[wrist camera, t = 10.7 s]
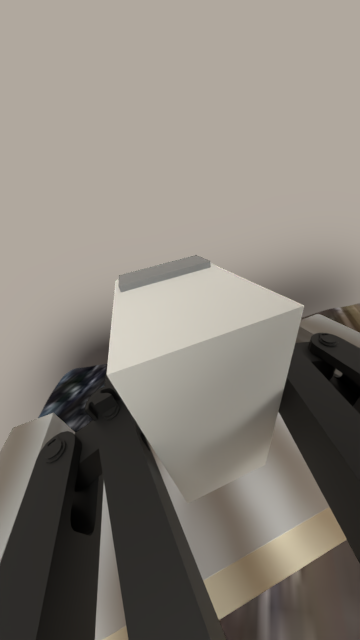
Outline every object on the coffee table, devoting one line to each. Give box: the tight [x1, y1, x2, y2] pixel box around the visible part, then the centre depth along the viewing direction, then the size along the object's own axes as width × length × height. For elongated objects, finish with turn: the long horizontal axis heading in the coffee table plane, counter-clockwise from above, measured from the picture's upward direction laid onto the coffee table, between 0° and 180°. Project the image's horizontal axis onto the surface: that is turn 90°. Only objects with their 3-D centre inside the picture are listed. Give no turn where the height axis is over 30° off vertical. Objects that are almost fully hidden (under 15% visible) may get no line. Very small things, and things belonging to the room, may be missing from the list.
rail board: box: [0, 314, 360, 640], centre depth 15 cm, size 29×14×11 cm, turn 107°
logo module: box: [107, 255, 304, 503], centre depth 10 cm, size 5×7×11 cm
